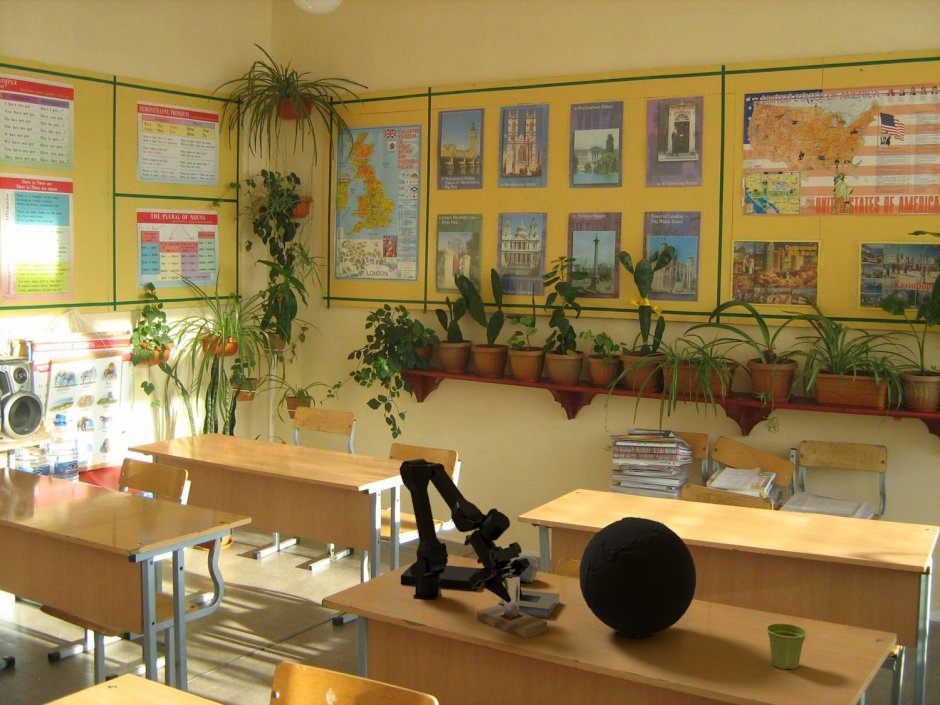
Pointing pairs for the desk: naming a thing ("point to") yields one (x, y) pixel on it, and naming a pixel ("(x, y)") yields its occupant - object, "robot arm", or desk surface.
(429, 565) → the robot arm
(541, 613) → the block
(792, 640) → the plant pot
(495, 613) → the wooden block with hole
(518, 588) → the steel axle
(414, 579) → the external hard drive
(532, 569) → the spool
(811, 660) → the desk surface
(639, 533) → the sphere
